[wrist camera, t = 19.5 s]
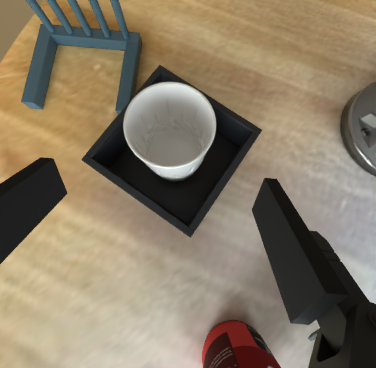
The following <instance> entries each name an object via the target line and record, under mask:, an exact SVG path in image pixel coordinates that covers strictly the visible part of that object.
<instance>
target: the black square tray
mask: <svg viewBox="0 0 376 368" xmlns="http://www.w3.org/2000/svg"><path fill="white" fill-rule="evenodd" d="M161 82H179V83H183V84H186V85H189V86H191V87H193V88H195V87H194V86H192V85H191V84H189V83H187V82H186V81H184V80H183V79H181V78H180V77H178V76H177V75H175V74H173V73H172V72H170V71H169V70H167V69H166V68H164V67H162V66H161V65H159V66H158V68H157V69H156V70H155V71H154V72H153V73H152V75H151V76H150V77H149V78H148V80H147V81H146V82H145V83H144V84H143V86H142V87H141V88H140V89H139V90H138V92H137V93H136V94H135V95H134V96H133V98H134V97H135V96H136V95H137V94H138V93H139V92H141V91H142V90H143V89H145V88H147V87H149V86H151V85H154V84H157V83H161ZM195 89H196V90H198V89H197V88H195ZM198 91H199V92H201V93H202V94H203V95H204V96H205V97H206V98H207V100H208V101H209V102H210V104H211V106H212V108H213V110H214V113H215V117H216V132H215V137H214V140H213V142H212V144H211V146H210V148H209V150H208V151H207V153H206V155H205V157H204V159H203V161H202V163H201V164H200V166H199V167H198V169H197V170H196V171H195V172H194V174H193V175H192V176H190V177H189V178H187V179H185V180H184V181H175V182H171V181H169V180H166V179H163V178H161V177H160V176H159V175H157V174H156V173H155V172H154V171H152V170H151V169H150V168H149V167H148V166H147V165H146V164H145V163H144V162H143V161H142V160H141V159H140V158H138V157H137V156H136V155H135V154H134V152H133V151H132V150H131V149H130V147H129V145H128V143H127V141H126V138H125V135H124V129H123V122H124V116H125V112H126V110H127V107H128V105H129V104H130V102H131V101H132V99H133V98H132V99H131V100H130V101H129V103H128V104H127V105H126V106H125V107H124V109H123V110H122V111H121V112H120V113H119V115H118V116H117V117H116V118H115V119H114V121H113V122H112V123H111V124H110V125H109V127H108V128H107V129H106V130H105V132H104V133H103V134H102V135H101V136H100V138H99V139H98V140H97V141H96V142H95V144H94V145H93V146H92V147H91V148H90V150H89V151H88V152H87V153H86V155H85V156H84V157H83V158H82V161H84V162H85V163H86V164H88V165H89V166H91V167H92V168H93V169H95V170H96V171H98V172H99V173H100V174H102V175H103V176H105V177H106V178H107V179H109V180H110V181H112V182H113V183H114V184H116V185H117V186H119V187H120V188H121V189H123V190H124V191H126V192H127V193H128V194H130V195H131V196H133V197H134V198H135V199H137V200H138V201H140V202H141V203H142V204H144V205H145V206H147V207H148V208H149V209H151V210H152V211H154V212H155V213H156V214H158V215H159V216H161V217H162V218H163V219H165V220H166V221H168V222H169V223H170V224H172V225H173V226H175V227H176V228H177V229H179V230H180V231H182V232H183V233H184V234H186V235H187V236H189V237H191V236H192V235H193V233H194V232H195V230H196V229H197V227H198V226H199V224H200V223H201V221H202V220H203V218H204V217H205V215H206V214H207V212H208V211H209V209H210V208H211V206H212V205H213V203H214V202H215V200H216V199H217V197H218V196H219V194H220V193H221V191H222V190H223V188H224V187H225V185H226V184H227V182H228V181H229V179H230V178H231V176H232V175H233V173H234V172H235V170H236V169H237V167H238V166H239V164H240V163H241V161H242V160H243V158H244V157H245V155H246V154H247V152H248V151H249V149H250V148H251V146H252V145H253V143H254V142H255V140H256V139H257V137H258V135H259V134H260V133H261V131H262V130H261V129H260V128H258V127H256V126H255V125H253V124H252V123H250V122H249V121H247V120H245V119H244V118H242V117H241V116H239V115H238V114H236V113H234V112H233V111H231V110H230V109H228V108H227V107H225V106H224V105H222V104H220V103H219V102H217V101H216V100H214V99H213V98H211V97H209V96H208V95H206V94H205V93H203V92H202V91H200V90H198Z"/></svg>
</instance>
